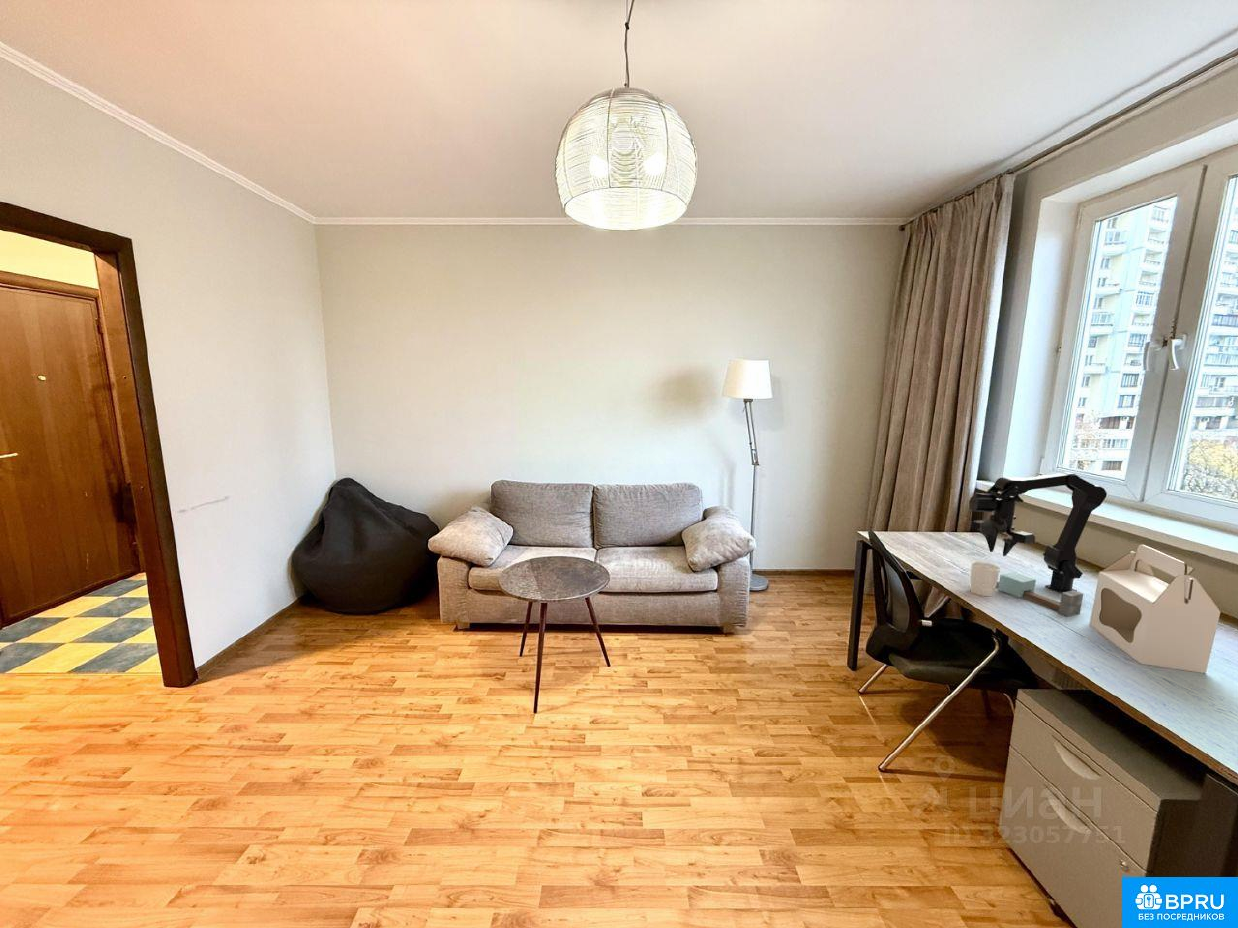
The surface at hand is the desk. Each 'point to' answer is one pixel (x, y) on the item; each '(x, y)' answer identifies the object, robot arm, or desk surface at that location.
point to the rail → (1066, 606)
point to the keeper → (1016, 584)
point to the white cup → (984, 578)
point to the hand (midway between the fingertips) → (997, 553)
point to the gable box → (1155, 611)
